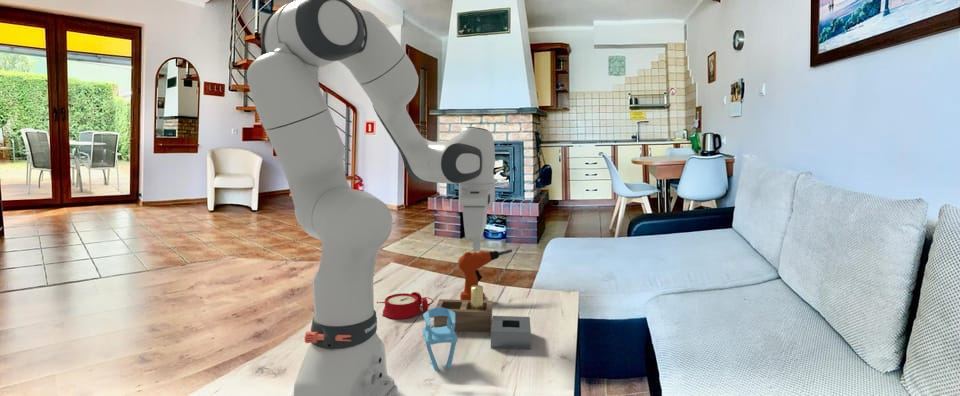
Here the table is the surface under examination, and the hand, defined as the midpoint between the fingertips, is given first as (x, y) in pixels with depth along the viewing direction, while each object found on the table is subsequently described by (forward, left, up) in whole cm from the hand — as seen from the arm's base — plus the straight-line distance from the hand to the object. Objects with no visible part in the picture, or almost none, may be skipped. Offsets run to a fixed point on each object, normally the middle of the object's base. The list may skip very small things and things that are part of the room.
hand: (476, 249), depth 112 cm
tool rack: (0, +3, -21) cm, 21 cm away
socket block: (-8, -9, -21) cm, 24 cm away
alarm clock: (+10, +21, -21) cm, 31 cm away
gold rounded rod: (0, 0, -20) cm, 20 cm away
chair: (-19, +6, -21) cm, 29 cm away
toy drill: (+24, -1, -21) cm, 32 cm away
